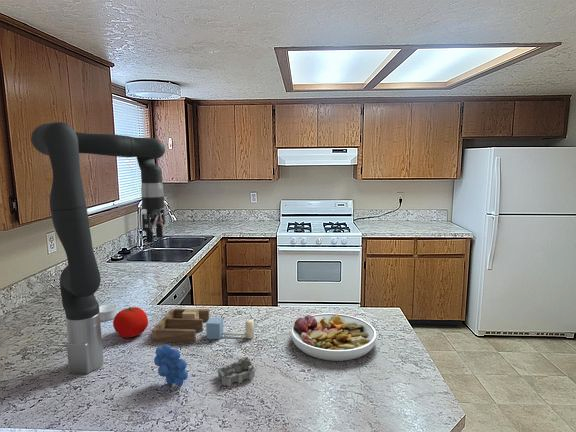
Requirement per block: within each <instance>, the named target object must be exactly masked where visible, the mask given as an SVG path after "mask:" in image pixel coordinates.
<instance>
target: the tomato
mask: <svg viewBox="0 0 576 432" xmlns="http://www.w3.org/2000/svg"><path fill="white" fill-rule="evenodd" d="M148 318H149V317H148V315H147V313H146V312H145V311H144V309H141V308H140V307H137V306H132V307H131V306H129V307H126V308H124V309H121V310H119V311H118V312H117V314H116V316H115V318H114V319H112V321H113V322H112V326H113V329H114V331H115V332H116V334H117V335H119V336H120V337H122V338H127V339H129V338H133V337H136V336H139V335H141V334H143V332H145V330H146V329H147V327H148V326H149V319H148Z"/></svg>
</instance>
